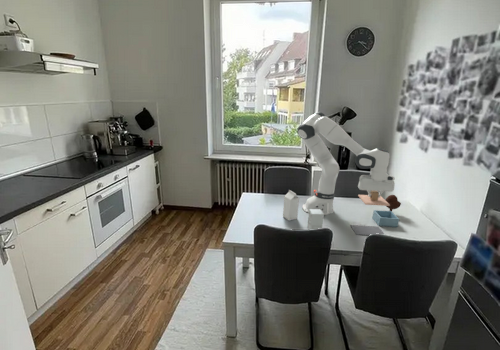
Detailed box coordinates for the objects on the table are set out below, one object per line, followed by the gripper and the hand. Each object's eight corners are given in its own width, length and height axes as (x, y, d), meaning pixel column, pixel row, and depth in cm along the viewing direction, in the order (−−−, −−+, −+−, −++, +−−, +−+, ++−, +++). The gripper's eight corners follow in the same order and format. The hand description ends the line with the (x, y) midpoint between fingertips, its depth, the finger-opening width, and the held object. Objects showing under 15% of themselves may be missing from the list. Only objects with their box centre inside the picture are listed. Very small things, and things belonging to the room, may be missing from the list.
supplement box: (318, 227, 178) (320, 209, 174) (321, 232, 171) (324, 214, 167) (307, 226, 178) (309, 208, 174) (309, 232, 170) (311, 213, 167)
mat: (356, 234, 170) (356, 233, 170) (350, 225, 182) (350, 224, 181) (385, 236, 169) (386, 235, 169) (378, 227, 181) (378, 226, 181)
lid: (365, 204, 163) (367, 195, 161) (358, 195, 176) (359, 187, 175) (389, 205, 162) (391, 196, 161) (380, 197, 176) (382, 188, 174)
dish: (378, 226, 183) (380, 217, 181) (372, 217, 194) (373, 210, 192) (397, 227, 182) (399, 219, 180) (389, 219, 194) (391, 211, 192)
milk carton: (288, 220, 185) (291, 194, 179) (282, 216, 190) (284, 190, 185) (297, 219, 188) (299, 192, 182) (291, 214, 194) (293, 189, 188)
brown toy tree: (400, 218, 196) (404, 198, 192) (383, 216, 198) (387, 196, 194) (396, 211, 206) (400, 193, 202) (380, 210, 208) (383, 191, 204)
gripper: (361, 176, 162) (358, 198, 166) (397, 178, 161) (393, 200, 165) (358, 173, 168) (354, 194, 172) (392, 174, 167) (388, 196, 171)
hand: (373, 197), depth 169 cm, fingers closed on lid, 3 cm apart
